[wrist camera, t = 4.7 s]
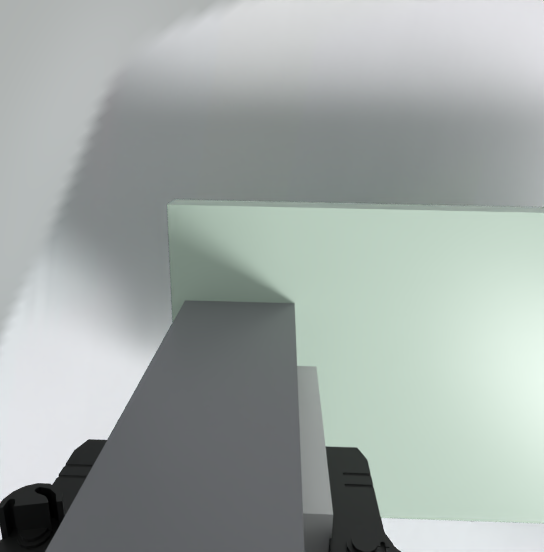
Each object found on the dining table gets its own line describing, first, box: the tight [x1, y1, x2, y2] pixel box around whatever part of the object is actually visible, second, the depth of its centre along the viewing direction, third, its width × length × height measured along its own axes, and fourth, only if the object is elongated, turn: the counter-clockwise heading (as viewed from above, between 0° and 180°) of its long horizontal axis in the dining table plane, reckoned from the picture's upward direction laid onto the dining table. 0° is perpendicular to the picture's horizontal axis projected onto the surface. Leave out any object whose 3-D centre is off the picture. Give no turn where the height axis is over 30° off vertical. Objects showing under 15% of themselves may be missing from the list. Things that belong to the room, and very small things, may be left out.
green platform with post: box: [45, 199, 544, 552], centre depth 14 cm, size 13×22×13 cm, turn 89°
